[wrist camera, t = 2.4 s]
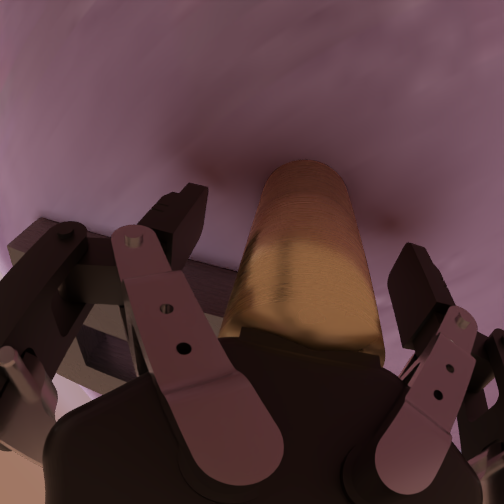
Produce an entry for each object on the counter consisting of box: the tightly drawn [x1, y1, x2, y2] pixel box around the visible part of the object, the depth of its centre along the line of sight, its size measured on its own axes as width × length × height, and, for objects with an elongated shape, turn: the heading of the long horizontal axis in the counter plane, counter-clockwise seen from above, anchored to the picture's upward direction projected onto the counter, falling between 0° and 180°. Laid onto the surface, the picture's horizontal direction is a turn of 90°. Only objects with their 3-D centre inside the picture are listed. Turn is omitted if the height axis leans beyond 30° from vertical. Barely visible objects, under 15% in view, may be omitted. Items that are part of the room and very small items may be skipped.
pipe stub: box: [218, 160, 385, 367], centre depth 11 cm, size 4×4×9 cm
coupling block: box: [7, 217, 238, 395], centre depth 20 cm, size 14×14×4 cm
